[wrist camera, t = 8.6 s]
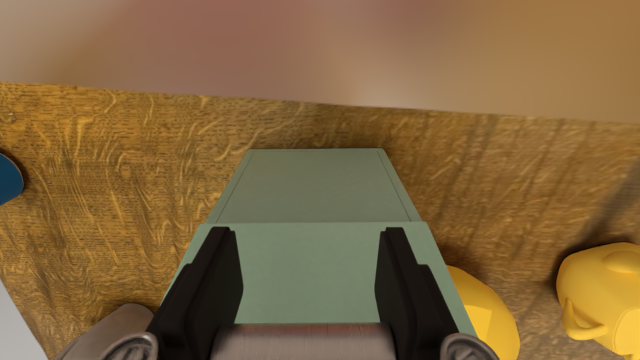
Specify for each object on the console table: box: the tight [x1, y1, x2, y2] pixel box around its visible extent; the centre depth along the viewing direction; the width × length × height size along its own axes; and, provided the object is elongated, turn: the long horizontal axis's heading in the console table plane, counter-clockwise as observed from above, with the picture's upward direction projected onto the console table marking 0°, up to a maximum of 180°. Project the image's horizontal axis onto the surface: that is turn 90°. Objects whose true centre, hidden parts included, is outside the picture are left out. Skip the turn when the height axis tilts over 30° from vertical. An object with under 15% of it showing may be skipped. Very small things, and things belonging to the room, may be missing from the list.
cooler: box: [205, 148, 423, 223], centre depth 28 cm, size 12×15×14 cm
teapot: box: [556, 242, 640, 360], centre depth 35 cm, size 14×13×10 cm
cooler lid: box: [159, 222, 479, 360], centre depth 13 cm, size 12×15×6 cm
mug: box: [54, 303, 154, 360], centre depth 40 cm, size 12×9×10 cm
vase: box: [446, 265, 520, 360], centre depth 33 cm, size 18×18×19 cm
